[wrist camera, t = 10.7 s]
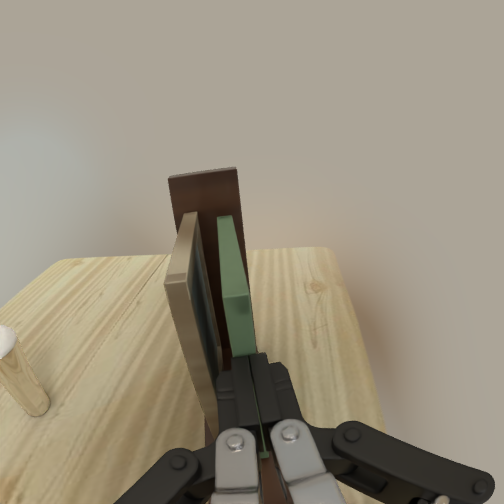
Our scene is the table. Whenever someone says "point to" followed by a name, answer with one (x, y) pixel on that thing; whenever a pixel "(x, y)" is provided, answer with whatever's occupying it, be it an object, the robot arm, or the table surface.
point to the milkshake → (20, 375)
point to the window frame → (207, 291)
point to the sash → (236, 296)
